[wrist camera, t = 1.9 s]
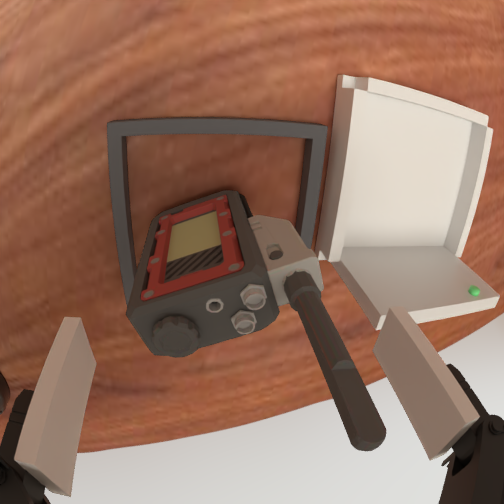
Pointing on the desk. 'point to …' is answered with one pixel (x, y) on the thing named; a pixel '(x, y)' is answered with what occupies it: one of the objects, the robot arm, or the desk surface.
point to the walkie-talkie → (240, 294)
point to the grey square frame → (208, 125)
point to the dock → (403, 200)
